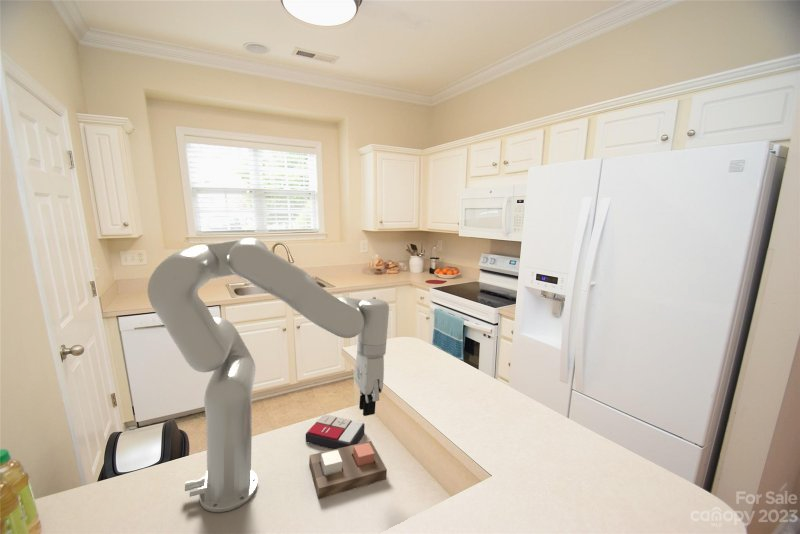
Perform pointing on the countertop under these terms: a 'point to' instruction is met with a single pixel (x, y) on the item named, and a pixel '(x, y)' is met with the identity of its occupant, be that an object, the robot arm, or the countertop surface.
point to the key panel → (346, 472)
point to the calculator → (335, 432)
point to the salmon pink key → (363, 454)
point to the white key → (331, 463)
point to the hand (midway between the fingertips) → (366, 410)
